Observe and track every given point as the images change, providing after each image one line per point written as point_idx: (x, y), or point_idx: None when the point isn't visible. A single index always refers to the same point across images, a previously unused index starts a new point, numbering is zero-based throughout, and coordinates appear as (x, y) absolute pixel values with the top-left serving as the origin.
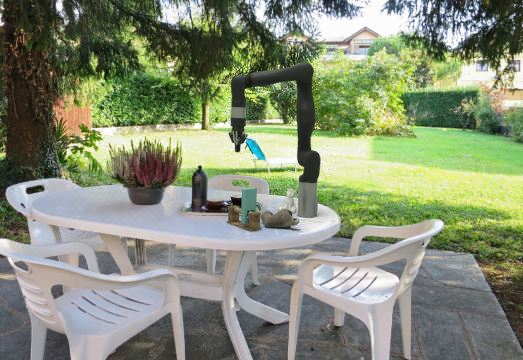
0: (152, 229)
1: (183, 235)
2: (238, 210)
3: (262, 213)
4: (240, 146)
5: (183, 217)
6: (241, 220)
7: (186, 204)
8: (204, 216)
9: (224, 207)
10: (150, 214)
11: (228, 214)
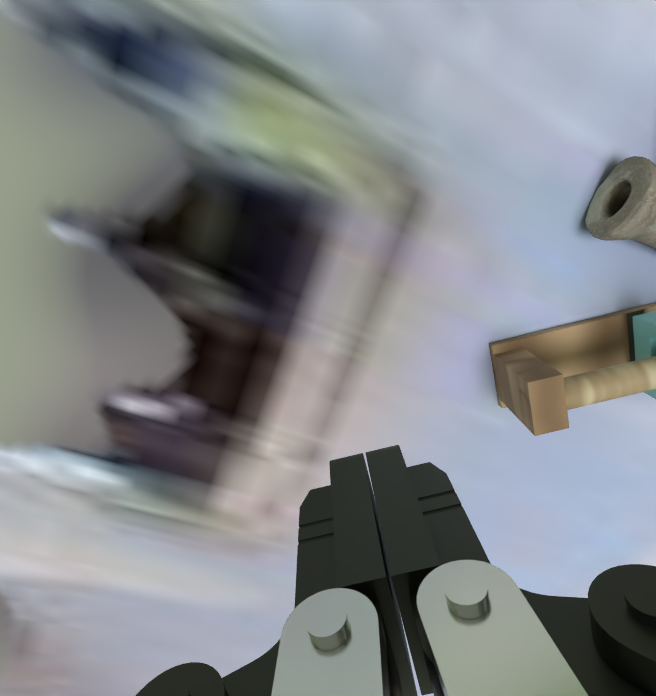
0: None
1: None
2: (609, 399)
3: (624, 233)
4: (479, 541)
5: None
6: (648, 393)
7: (36, 467)
8: None
9: (164, 288)
10: (214, 656)
11: (516, 414)
